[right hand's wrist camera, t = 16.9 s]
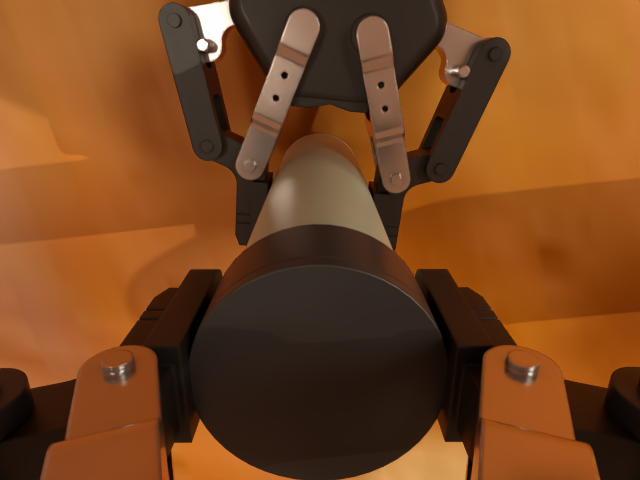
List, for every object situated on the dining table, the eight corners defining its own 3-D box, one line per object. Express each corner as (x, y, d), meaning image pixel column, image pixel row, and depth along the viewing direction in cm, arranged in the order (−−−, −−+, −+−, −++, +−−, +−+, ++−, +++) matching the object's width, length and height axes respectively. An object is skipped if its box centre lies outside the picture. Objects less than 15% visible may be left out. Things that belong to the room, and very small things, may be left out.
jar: (373, 158, 26) (474, 329, 9) (333, 223, 28) (354, 477, 11) (304, 117, 26) (273, 220, 8) (266, 186, 27) (171, 396, 10)
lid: (332, 176, 10) (335, 207, 8) (466, 333, 11) (500, 396, 9) (168, 312, 11) (132, 371, 9) (308, 439, 12) (305, 516, 10)
